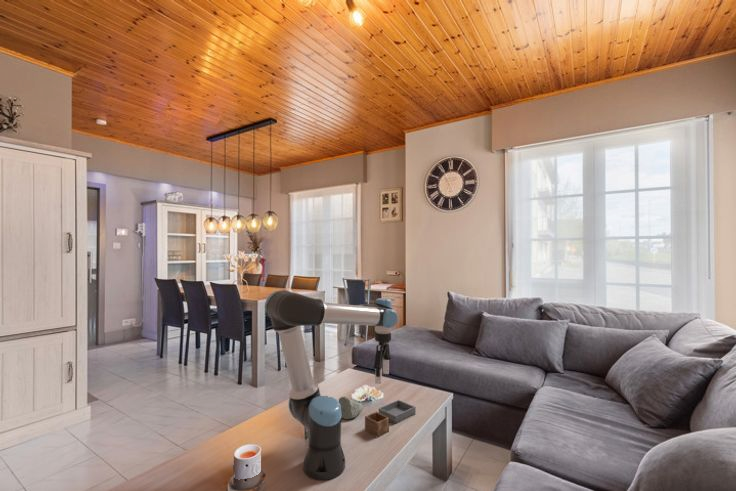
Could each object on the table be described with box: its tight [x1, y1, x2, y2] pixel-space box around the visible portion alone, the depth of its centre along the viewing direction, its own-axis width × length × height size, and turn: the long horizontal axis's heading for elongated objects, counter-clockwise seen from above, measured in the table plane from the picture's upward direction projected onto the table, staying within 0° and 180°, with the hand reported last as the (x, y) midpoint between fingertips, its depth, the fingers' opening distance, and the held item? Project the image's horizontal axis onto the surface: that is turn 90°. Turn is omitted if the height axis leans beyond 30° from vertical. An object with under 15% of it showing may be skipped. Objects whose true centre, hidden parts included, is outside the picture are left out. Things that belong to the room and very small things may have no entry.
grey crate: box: [378, 399, 417, 425], centre depth 166 cm, size 14×11×4 cm
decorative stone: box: [338, 396, 364, 420], centre depth 165 cm, size 13×11×10 cm
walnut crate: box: [364, 411, 390, 438], centre depth 151 cm, size 7×8×6 cm
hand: (382, 378), depth 158 cm, fingers open, 13 cm apart
